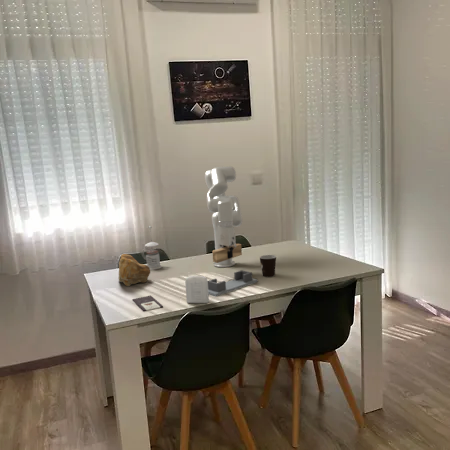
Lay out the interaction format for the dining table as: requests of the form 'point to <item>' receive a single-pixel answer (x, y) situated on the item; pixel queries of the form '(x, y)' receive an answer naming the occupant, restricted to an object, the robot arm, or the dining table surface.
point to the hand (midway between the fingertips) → (227, 257)
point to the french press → (156, 257)
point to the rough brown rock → (132, 270)
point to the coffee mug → (268, 265)
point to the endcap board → (230, 283)
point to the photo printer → (197, 289)
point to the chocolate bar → (147, 303)
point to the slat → (222, 253)
